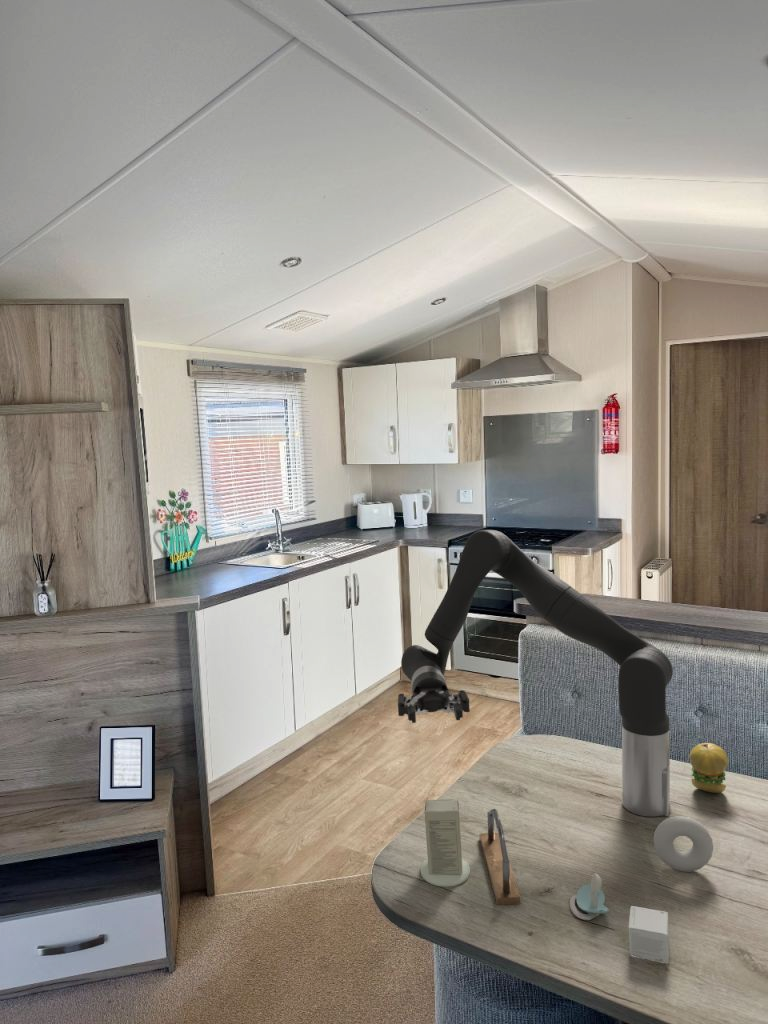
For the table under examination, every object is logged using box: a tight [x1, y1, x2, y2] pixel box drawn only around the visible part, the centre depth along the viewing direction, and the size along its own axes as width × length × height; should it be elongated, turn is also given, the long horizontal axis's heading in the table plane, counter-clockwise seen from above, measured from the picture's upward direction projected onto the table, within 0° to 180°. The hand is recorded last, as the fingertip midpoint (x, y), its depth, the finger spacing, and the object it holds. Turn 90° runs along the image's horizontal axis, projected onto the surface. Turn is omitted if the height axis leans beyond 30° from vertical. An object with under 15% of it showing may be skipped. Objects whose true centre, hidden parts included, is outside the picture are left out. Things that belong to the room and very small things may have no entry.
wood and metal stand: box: [478, 808, 522, 906], centre depth 135 cm, size 20×4×10 cm, turn 1°
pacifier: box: [569, 873, 609, 921], centre depth 123 cm, size 7×6×6 cm
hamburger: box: [689, 742, 729, 794], centre depth 158 cm, size 8×7×12 cm
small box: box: [628, 905, 670, 965], centre depth 113 cm, size 6×6×5 cm
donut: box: [653, 815, 714, 873], centre depth 132 cm, size 10×4×10 cm, turn 74°
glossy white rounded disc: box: [420, 858, 471, 888], centre depth 135 cm, size 9×9×1 cm
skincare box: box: [424, 799, 463, 875], centre depth 134 cm, size 6×4×12 cm
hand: (436, 716), depth 142 cm, fingers open, 8 cm apart
